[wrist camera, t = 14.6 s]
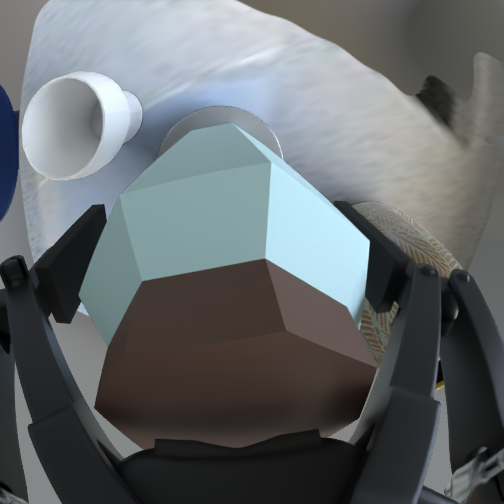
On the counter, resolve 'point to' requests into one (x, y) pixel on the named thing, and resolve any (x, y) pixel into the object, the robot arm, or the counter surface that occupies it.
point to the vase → (420, 250)
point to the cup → (78, 125)
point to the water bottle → (228, 300)
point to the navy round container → (219, 117)
